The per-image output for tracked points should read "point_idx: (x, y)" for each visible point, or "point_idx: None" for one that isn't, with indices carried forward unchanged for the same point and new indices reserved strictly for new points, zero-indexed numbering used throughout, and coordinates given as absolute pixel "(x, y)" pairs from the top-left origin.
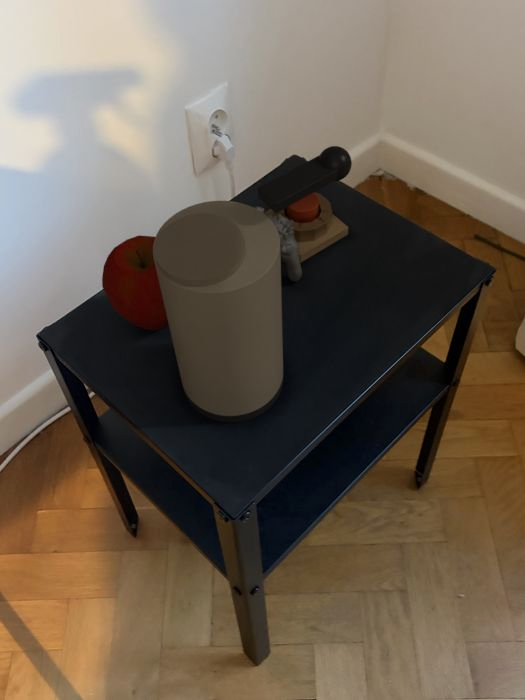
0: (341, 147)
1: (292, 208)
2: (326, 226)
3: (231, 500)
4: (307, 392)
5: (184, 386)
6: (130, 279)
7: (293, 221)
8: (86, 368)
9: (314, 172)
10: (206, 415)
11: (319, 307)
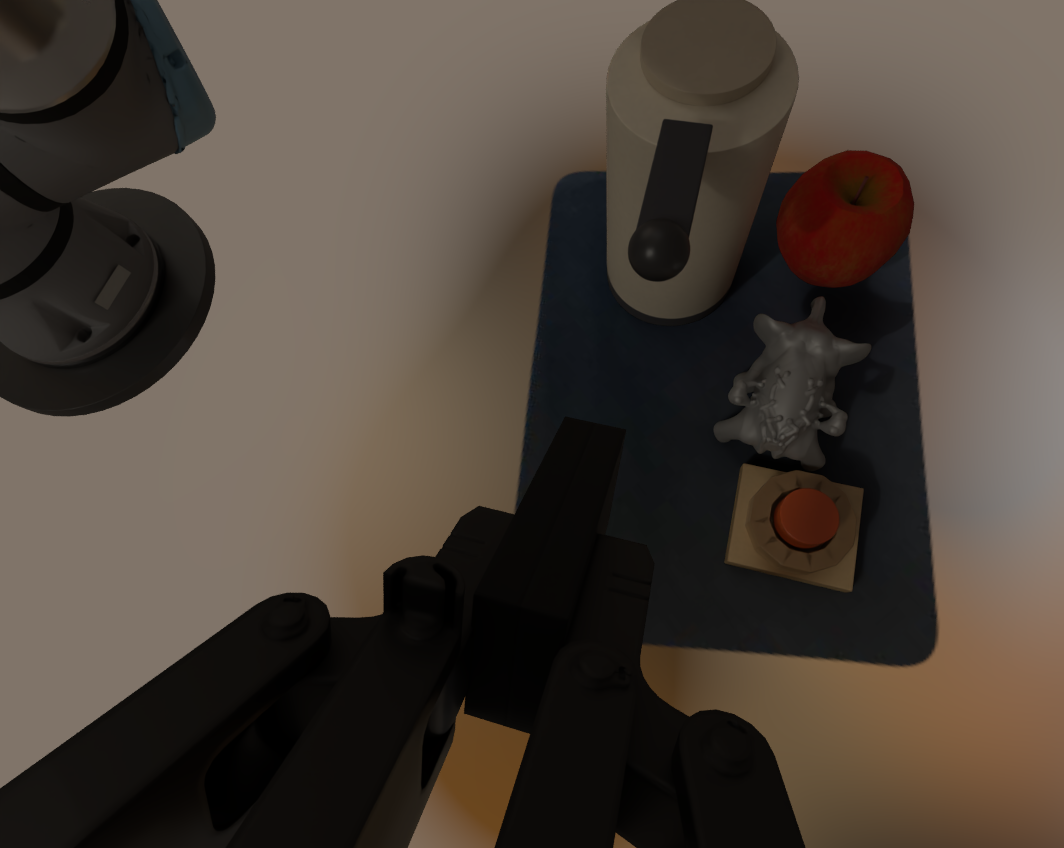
0: (661, 254)
1: (808, 490)
2: (748, 521)
3: (566, 176)
4: (585, 310)
5: None
6: (835, 157)
7: None
8: None
9: (664, 201)
10: None
11: (660, 418)
